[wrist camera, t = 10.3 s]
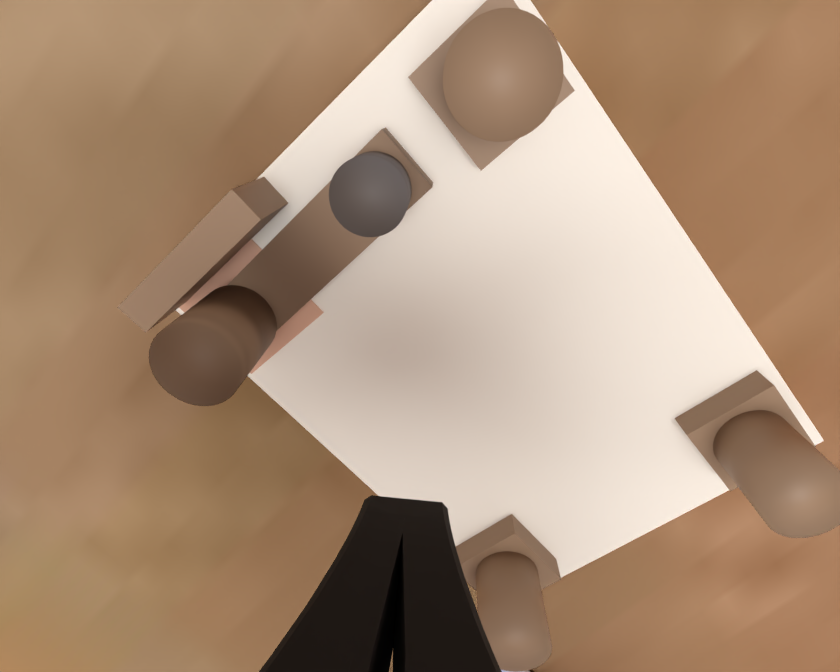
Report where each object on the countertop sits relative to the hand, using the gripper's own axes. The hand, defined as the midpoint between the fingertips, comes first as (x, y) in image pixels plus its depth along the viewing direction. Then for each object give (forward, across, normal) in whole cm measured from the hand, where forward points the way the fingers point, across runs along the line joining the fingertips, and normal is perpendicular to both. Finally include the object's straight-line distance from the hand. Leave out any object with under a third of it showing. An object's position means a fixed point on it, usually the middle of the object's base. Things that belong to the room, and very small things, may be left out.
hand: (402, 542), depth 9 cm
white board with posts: (+10, -3, +1) cm, 11 cm away
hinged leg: (+9, +4, -3) cm, 10 cm away
